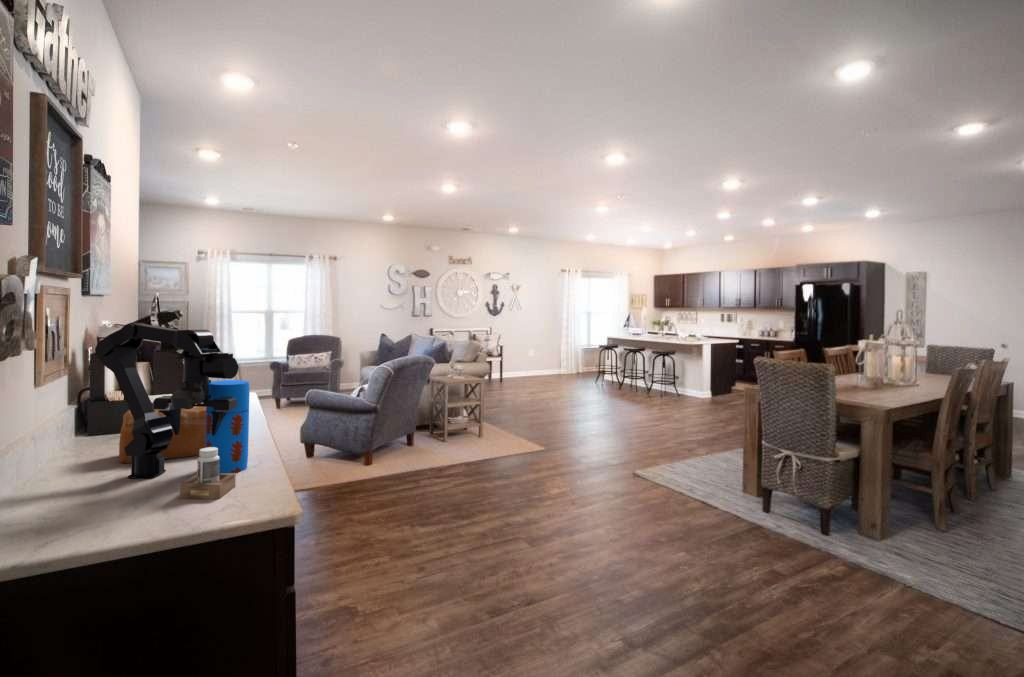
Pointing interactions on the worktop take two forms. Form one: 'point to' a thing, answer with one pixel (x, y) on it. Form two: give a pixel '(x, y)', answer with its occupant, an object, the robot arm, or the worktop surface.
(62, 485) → the worktop surface
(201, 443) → the bread
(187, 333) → the robot arm
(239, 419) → the thermos
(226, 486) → the wooden tray
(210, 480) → the pill bottle
